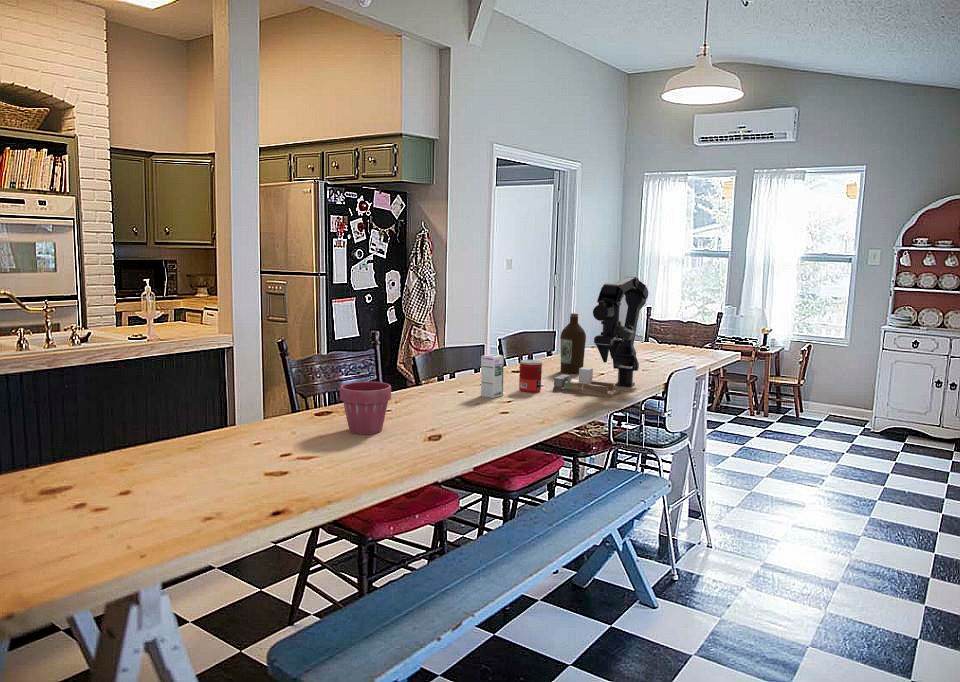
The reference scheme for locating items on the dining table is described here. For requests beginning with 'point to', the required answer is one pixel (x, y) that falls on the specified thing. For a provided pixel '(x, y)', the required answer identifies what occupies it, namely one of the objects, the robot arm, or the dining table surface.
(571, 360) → the olive oil
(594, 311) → the robot arm
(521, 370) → the canned food
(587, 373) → the pale grey cube box
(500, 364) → the syrup box
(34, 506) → the dining table surface
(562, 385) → the gauge bench
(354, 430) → the plant pot
